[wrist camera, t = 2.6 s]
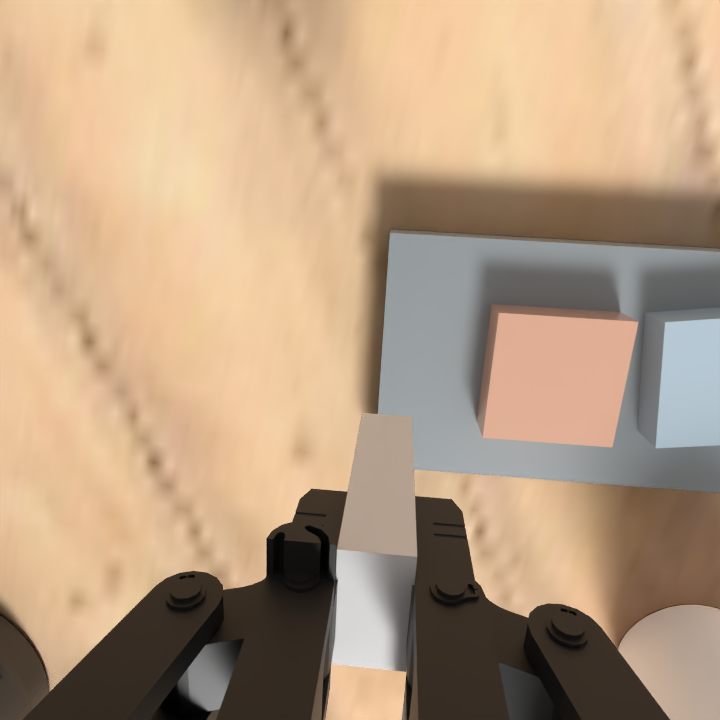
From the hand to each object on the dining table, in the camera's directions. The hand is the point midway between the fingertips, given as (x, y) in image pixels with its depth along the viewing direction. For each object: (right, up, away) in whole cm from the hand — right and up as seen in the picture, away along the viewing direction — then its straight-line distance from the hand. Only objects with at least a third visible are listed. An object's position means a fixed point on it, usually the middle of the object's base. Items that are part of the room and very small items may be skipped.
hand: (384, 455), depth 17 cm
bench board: (+11, +3, +12) cm, 17 cm away
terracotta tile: (+8, +3, +10) cm, 13 cm away
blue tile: (+16, +2, +9) cm, 19 cm away
